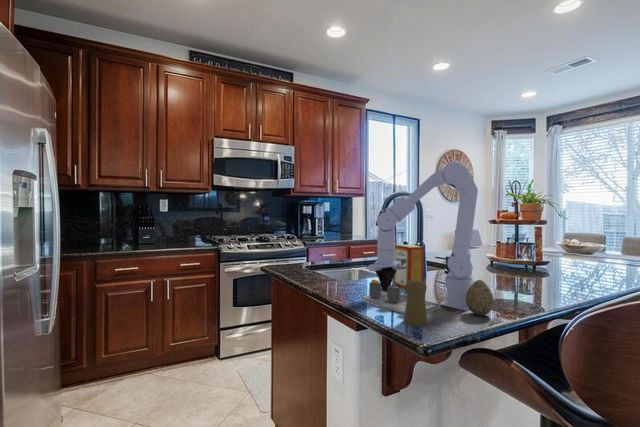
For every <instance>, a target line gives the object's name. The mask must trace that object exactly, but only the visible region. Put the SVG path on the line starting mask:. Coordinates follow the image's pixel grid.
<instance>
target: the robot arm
mask: <svg viewBox="0 0 640 427" xmlns="http://www.w3.org/2000/svg"><path fill="white" fill-rule="evenodd" d="M444 185H448V186H450V187H452V188H453V189H454V190H455V191H456V193H458V194H459V202H458V208H457V216H456V224H455V232H454V241H453V246H452V248H451V254H450V256H449V257H448V258H447V261H446V263H447V264H446V265H447V267H448V269H449V272H448V273H447V274H446V286H445V287H446V288H445V290H446V292H445V294H446V296H445V297H446V298H445V301H443V302H440V305H441V306H444V307H449V308H452V309H457V310H461V311H468V310H470V309H469V308H468V306H467V304H466V294H467V291H468V289H469V287H470V286H471V285H472V284H473V283H474V282H475V281H476V280H475V279H474V278H473V275H472V273H473V264H472V262H471V256H472V253H471V245H472V238H473V228H474V223H475V214H476V206H477V199H478V190H479V189H478V187H477V185H476V183H475V181H474V179H473V177H472V176H471V173H470V170H469V168H468V167H467V166H465V165H464V164H463V163H461V162H459V161H450V162H448V163H446V164H445V166H444V167H441V168H439V169H438V170H436V171H435V172H434V173H432V174H431V175H430V176H429V177H428V178H427V179H425V181H423V182H422V183H421V184H419V186H418V187H417V188H416V189H415V190H413V192H411V193H410V194H409V195H402V196H400V197H397V198H396V199H395V202H394V203H392V205H391V206H389V207H386V208H384V211H385V212H381V213H380V214H379V216H377V220H376V224H377V225H376V226H377V227H378V228H377V239H376V240H377V241H376V242H377V244H376V245H377V246H376V251H377V252H376V261H375V262H374V263H372V264H369V266H368V270H369V272H375V273H376V276H377V277H378V281H379V283H381V292H383V291H385V292H387V290H388V286H392V284H393V277H394V275H395V274H396V272H397V270H396V269H394V267H401V261H395V245H396V235H395V227H396V225H397V223H401V221H402V220H403V219H405V218H407V217H408V216H409V215H410V214H411V213H412V212H413V211H414V210H415V208H416V203H417V202H418V201H420V200H421V199H422V198H423V197H424V196H426V195H427V194H428V193H430V191H432V190H433V189H434V188H436V187H440V186H441V187H442V186H444Z"/></svg>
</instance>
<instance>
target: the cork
mask: <svg viewBox="0 0 640 427" xmlns="http://www.w3.org/2000/svg"><path fill="white" fill-rule="evenodd" d="M405 290H406V293H407V292H408V296H407V295H406V296H407V303H406V309H405V314H404V317H403V323H404V322H405V323H404V324H405V325H408V324H409V325H408V326H411V325H413V326H412V327H425V326H427V325H428V316H427V315H428V314H426V305H425V301H426V299H425V298H426V297H425V294H426V292H427V290H428V289H427V283H426V282H425V281H424V280H423V281H420V280H410V281H408V282H407V284H406V289H405Z"/></svg>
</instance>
